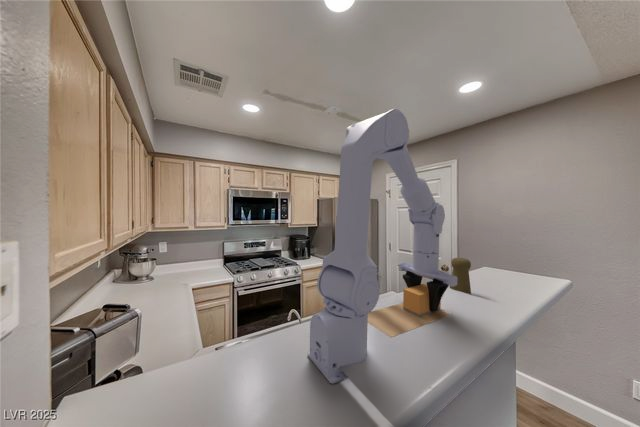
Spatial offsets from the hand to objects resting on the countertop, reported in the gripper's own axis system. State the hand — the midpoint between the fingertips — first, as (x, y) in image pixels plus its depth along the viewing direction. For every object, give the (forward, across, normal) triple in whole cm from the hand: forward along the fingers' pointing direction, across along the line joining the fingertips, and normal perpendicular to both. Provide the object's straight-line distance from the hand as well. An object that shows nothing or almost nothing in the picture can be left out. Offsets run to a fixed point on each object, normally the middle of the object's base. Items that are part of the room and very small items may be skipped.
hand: (424, 306), depth 57 cm
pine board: (+2, 0, +7) cm, 7 cm away
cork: (+2, +4, -23) cm, 24 cm away
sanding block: (0, 0, +1) cm, 1 cm away
